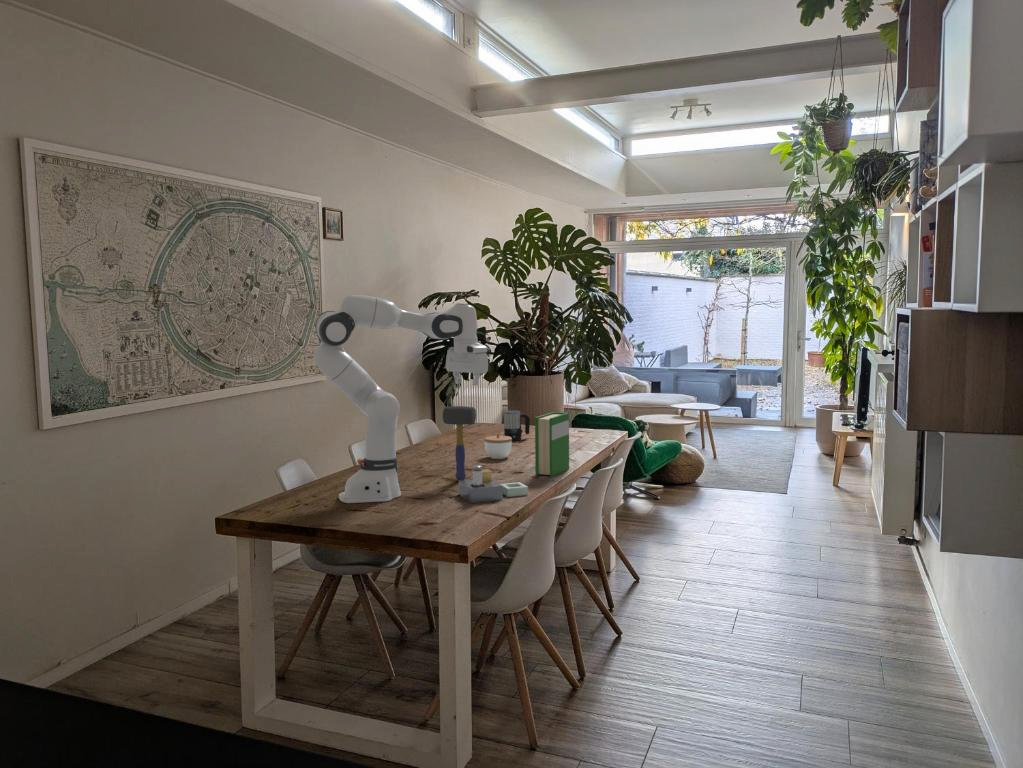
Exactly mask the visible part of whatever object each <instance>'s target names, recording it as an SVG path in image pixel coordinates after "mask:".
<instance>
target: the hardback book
mask: <svg viewBox="0 0 1023 768" xmlns="http://www.w3.org/2000/svg"><path fill="white" fill-rule="evenodd" d="M534 434H535V435H534V436H535V437H534V438H535V439H534V444H535V445H534V446H535V447H534V449H535V450H534V451H535V453H534V456H535V457H534V458H535V464H534V466H535V476H536V475H538V476H540V475H547V476H549V478H553V477H555V475H556V476H558V475H559V473H560V474H562V473H564V472H566V471H568V470H569V469H570V413H569V412H562V411H561V412H559V411H557V412H556V411H552V412H549V413H548V412H547V413H546V414H542V415H539V416H535V417H534ZM567 469H568V470H567ZM565 470H566V471H565ZM563 471H564V472H563ZM561 472H562V473H561ZM539 474H540V475H539ZM557 474H558V475H557Z"/></svg>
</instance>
